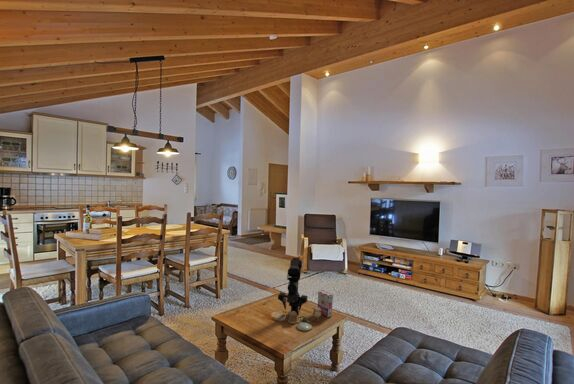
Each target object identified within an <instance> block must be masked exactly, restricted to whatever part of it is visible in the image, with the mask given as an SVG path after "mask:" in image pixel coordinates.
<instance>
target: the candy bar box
mask: <svg viewBox="0 0 574 384" xmlns="http://www.w3.org/2000/svg"><path fill="white" fill-rule="evenodd" d="M333 297H334V295H333V294H332V293H330V292H328V291H326V290H323V289H322V290H318V291H317V307H320V309H321V316H323V317H325V318H330V317H332V315H333V301H334V300H333V299H334V298H333Z"/></svg>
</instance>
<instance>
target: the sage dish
mask: <svg viewBox="0 0 574 384" xmlns="http://www.w3.org/2000/svg"><path fill="white" fill-rule="evenodd" d="M296 328H297V330H299V331H304V332H306V331H310V330H311V329H312V324H311V323H302V322H298V323H296Z"/></svg>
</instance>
